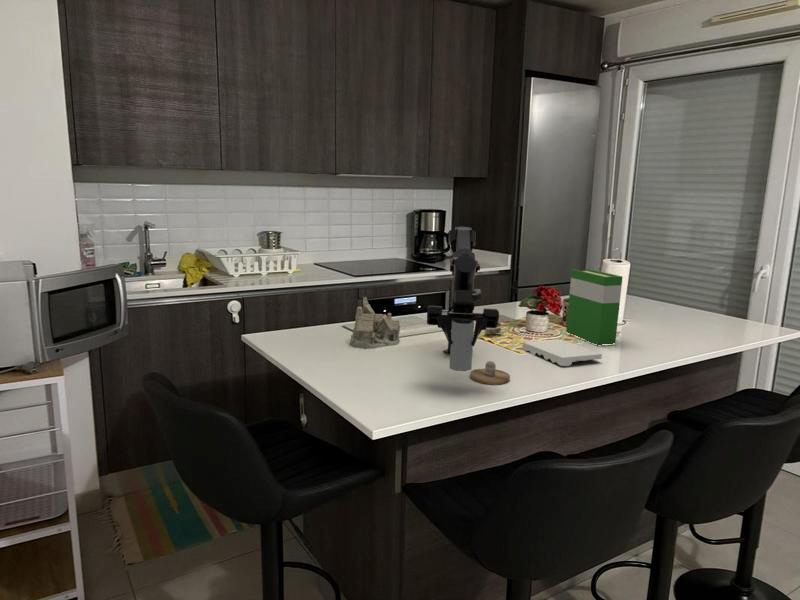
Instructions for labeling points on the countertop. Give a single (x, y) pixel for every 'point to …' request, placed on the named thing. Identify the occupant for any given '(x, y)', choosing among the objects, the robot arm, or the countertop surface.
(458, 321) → the steel sleeve
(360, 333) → the ceramic cottage
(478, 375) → the post stand
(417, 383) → the countertop surface
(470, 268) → the robot arm
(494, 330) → the architectural model
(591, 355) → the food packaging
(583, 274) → the hardback book
